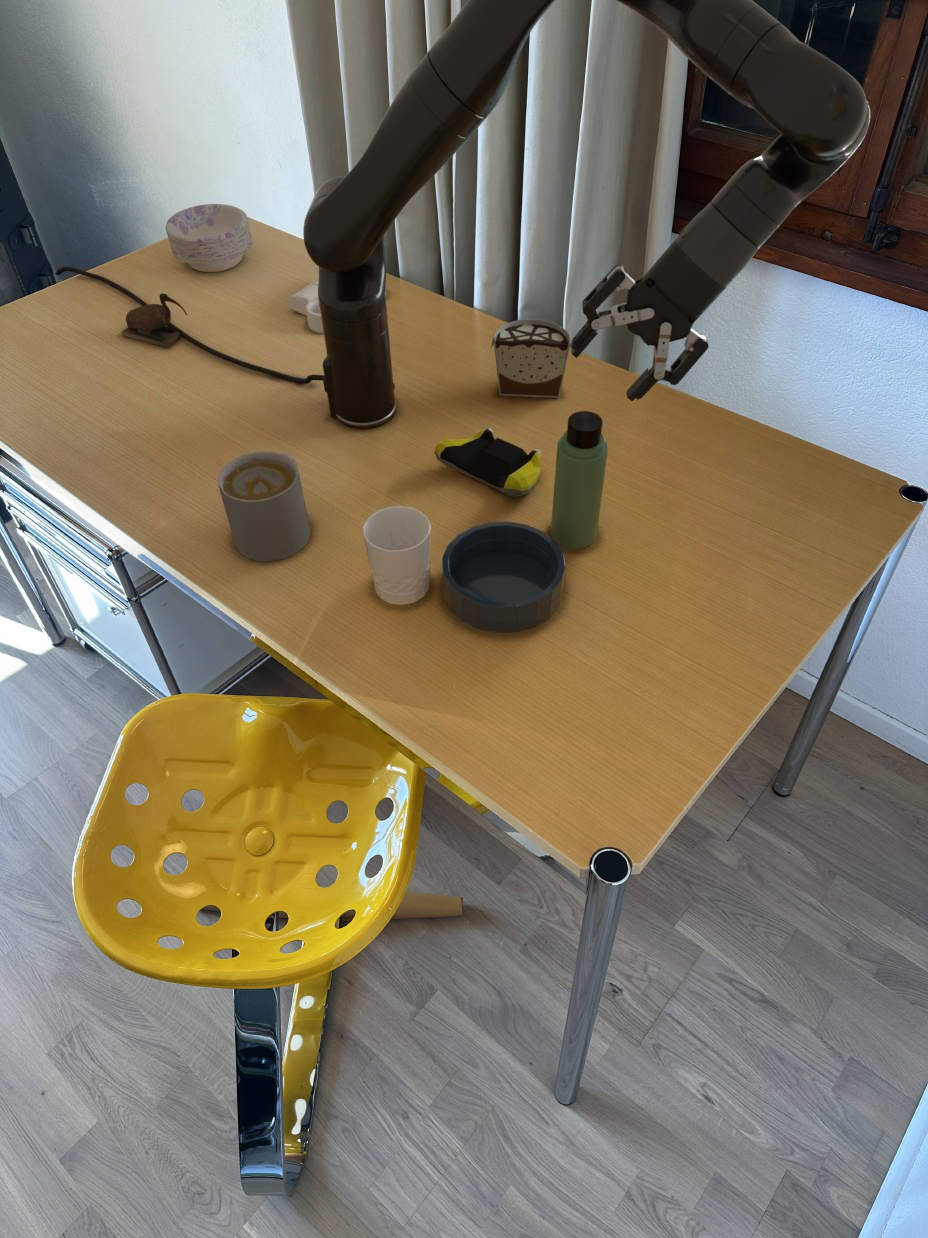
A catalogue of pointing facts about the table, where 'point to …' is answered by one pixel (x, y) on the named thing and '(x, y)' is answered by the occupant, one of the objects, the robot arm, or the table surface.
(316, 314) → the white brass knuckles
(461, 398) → the table surface
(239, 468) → the coffee mug
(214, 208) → the paper bowls
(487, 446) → the black and yellow shoe
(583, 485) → the bottle
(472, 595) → the dark blue bowl
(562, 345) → the food container
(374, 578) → the white cup
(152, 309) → the figurine
